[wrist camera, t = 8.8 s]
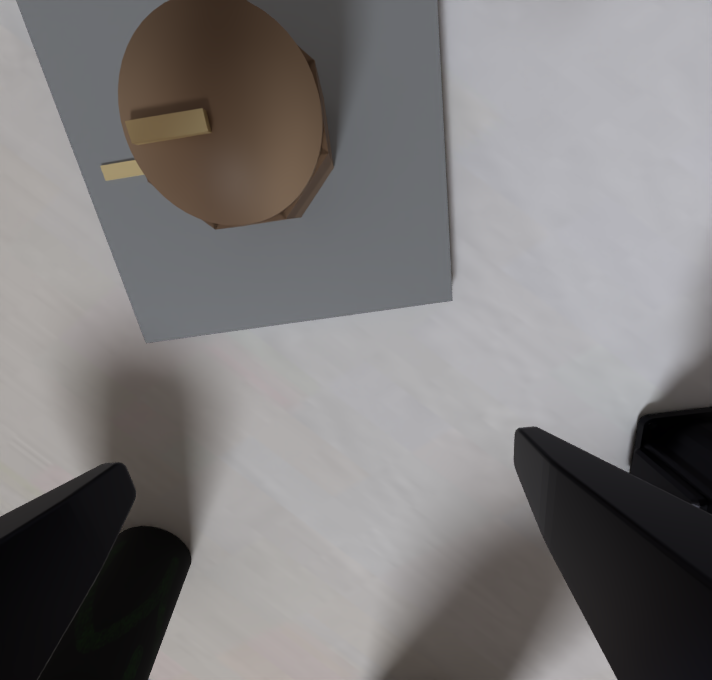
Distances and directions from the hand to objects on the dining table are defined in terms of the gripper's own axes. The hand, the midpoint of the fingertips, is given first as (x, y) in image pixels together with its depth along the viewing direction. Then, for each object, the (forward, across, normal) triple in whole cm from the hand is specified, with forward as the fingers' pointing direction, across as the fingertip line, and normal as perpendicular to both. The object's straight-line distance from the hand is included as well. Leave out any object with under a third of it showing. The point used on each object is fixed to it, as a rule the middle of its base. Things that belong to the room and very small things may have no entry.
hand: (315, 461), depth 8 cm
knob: (+10, +3, -8) cm, 14 cm away
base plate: (+11, +3, -8) cm, 14 cm away
